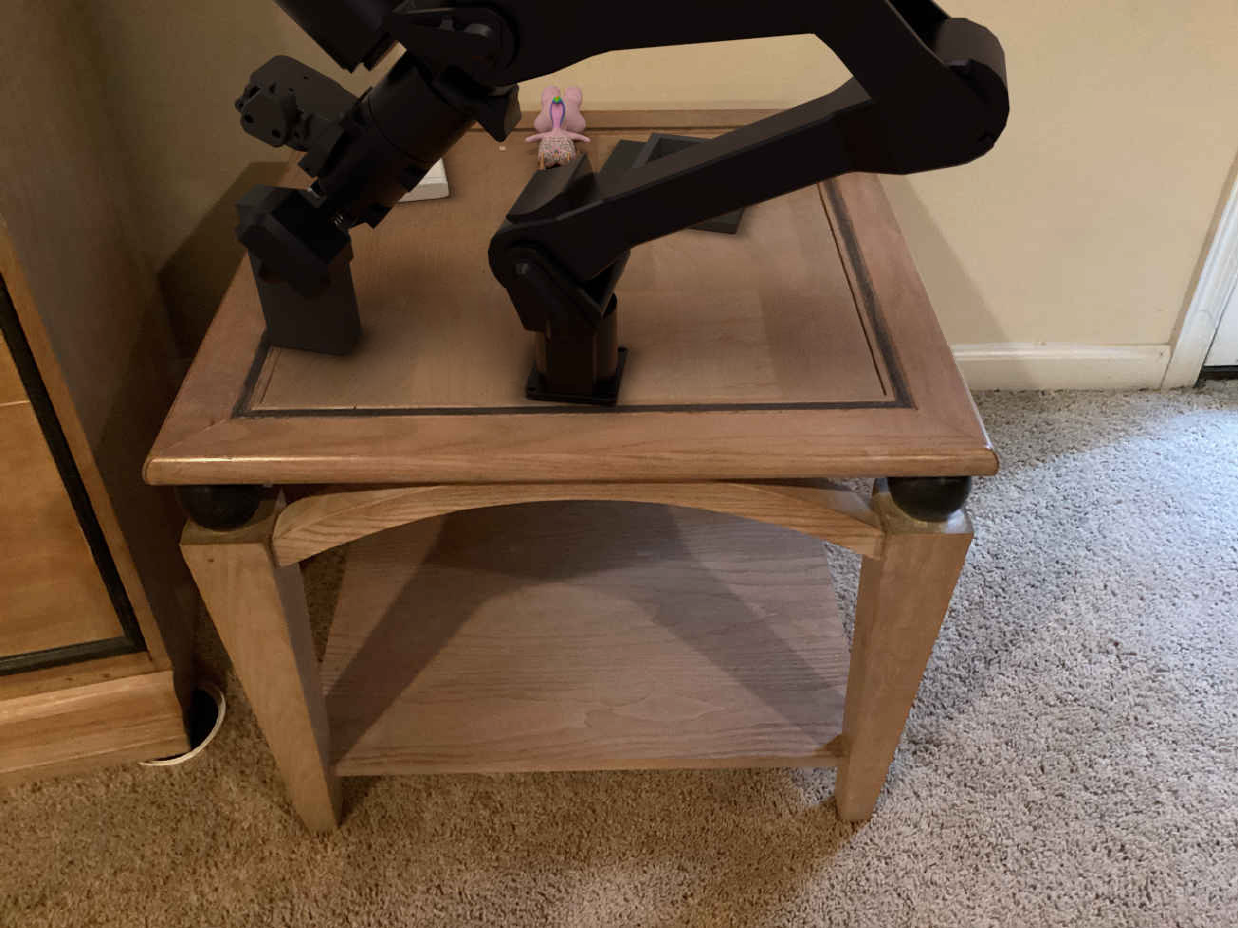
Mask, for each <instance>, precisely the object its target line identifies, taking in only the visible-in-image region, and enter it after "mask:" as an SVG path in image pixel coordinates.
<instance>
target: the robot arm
mask: <svg viewBox="0 0 1238 928" xmlns="http://www.w3.org/2000/svg"><path fill="white" fill-rule="evenodd" d="M272 1H273V2H274V3H275V4H276V5H277V6H278V8H280V9H281V11H283V12H284V13H285V14H286V15H287V16H288V17H289V18H290V19H291V20H292V21H293V22H294V23H295V24H296V25H298V27H299V28H300V29H301V30H302V31H303V32H304V33H305V34H306V35H307V36H308V37H310V39H311V40H313V42H314V43H316V45H317V46H319V48H321V49H322V51H324V52H325V54H326V55H327V56H329V58H330V59H332V61H334V62H335V63H336V65H338V67H339V68H341V69H342V71H347V72H348V73H349V74H350V75H352V74H353V73H354V72H355V71H356V70H358V69H359V67H360V66H361V65H362V66H363V67H364V68H365V70H367V71H368V72H369V73H370V72H372V71H373V70H375V68H376V67H377V66H378V65H379V64H380V63H382V61H383V60H384V59H385V58H386V57H387V56H388V55H389V54H390V53H391V52H392V51H393V50H394V48H395V47H397V45H398V44H400V45H401V46H402V47H403V48H404V52H403V53H402V54H401V56H399V58H398V59H397V60H395V62H394V64H393V65H391V67H390V68H389V69H388V70H387V71H386V73H385V74H384V75H383V76H382V77H381V79H379V81H378V82H377V83H376V84H375V85H374V86H372V85H370V86H369V87H368V88H367V89H366V90H365V91H364V92H363V93H362V94H361V95H360V96H359V97H358V96H357V95H355V94H353V92H350V91H349V90H347V89H346V88H344V87H343V85H341V84H340V83H339V82H338V81H336V80H335V79H333V78H331V77H329V76H328V75H326V74H324V73H322V72H320V71H318V70H317V69H315V68H313V67H311V66H309V65H307V64H305V63H303V62H302V61H300V60H298V59H296V58H294V57H293V56H289V55H284V54H277V55H275V56H273V57H271V58H270V59H269V60H267V61H266V62H265V63H263V64H262V65H260V67H258V68H257V69H255V70H254V71H253V72H251V74H250V75H249V79H248V84H246V85H245V86H244V89H243V93H242V94H241V95H240V96H239V97H238V98H237V99H235V101H234V107H235V109H236V111H237V112H238V113H240V118H239V124H240V126H241V128H242V129H243V131H244V133H246V134H248V135H250V136H251V137H254V138H255V139H257V140H259V141H261V142H262V143H265V144H267V145H269V146H270V147H272V148H275V149H277V148H282V147H283V146H287V147H288V148H290V149H292V150H293V151H297V152H301V153H305V154H304V155H303V156H302V158H301V159H300V160H299V161H298V162H297V163H296V165H297V166H298V167H299V168H300V169H301V170H302V171H303V172H304V173H305V174H306V175H307V176H309V177H310V178H311V179H315V178H316V179H315V180H314V181H313V182H312V183H311V184H310V185H309V186H308V187H307V189H306V190H308V192H309V193H310V194H311V195H312V196H313V197H314V198H315V199H317V200H318V201H319V200H320V199H321V198H322V197H323V196H324V195H326V196H327V197H328V198H327V199H326V200H325V201H324V202H323V203H322V204H321V205H320V206H319V207H318V208H316V207H315V206H314V205H312V204H311V203H310V202H309V201H308V200H307V199H306V198H305V197H304V196H303V195H302V194H300V193H299V192H298V191H297V190H296V189H293V188H294V187H288V188H284V187H285V186H279V187H275V188H274V189H273V190H272V191H271V192H270V193H269V194H268V195H267V196H265V197H264V198H263V199H262V200H261V201H260V202H259V203H258V204H257V205H256V206H255V207H254V208H253V209H252V210H251V211H250V212H249V213H248V214H247V215H246V216H245V218H244V219H243V220H242V221H241V222H240V221H239V223H238V225H237V226H236V227H235V228H234V232H235V235H236V239H237V241H238V242H239V243H240V244H242V245H243V246H244V248H246V250H247V249H248V250H250V251H251V252H252V253H253V254H254V255H255V256H256V257H257V258H259V259H260V260H261V261H262V262H261V265H260V267H259V270H258V273H257V275H258V276H259V277H260V278H261V279H262V280H263V281H264V282H265V283H267V284H268V285H273V284H278V283H283V282H286V283H287V284H288V285H289V286H290V287H292V288H293V289H294V290H295V291H296V292H297V293H298V294H300V295H301V296H302V297H303V298H304V299H309V300H317V299H318V298H319V297H320V296H321V295H322V294H323V293H324V292H325V291H326V290H327V289H328V288H329V287H330V286H331V285H332V283H333V282H334V281H335V280H336V279H337V277H338V276H339V275H340V274H341V273H342V271H343V270H344V269H345V268H346V267H347V266H348V264H350V263H351V262H352V261H353V260H354V258H355V256H354V252H353V251H354V250H353V245H352V243H353V238H352V236H351V234H350V232H349V230H351V229H353V228H356V227H358V226H360V225H362V224H365V223H366V224H367V225H368V226H369V227H370V228H371V229H372V230H375V228H377V226H379V224H380V223H381V222H382V221H384V219H385V218H386V217H387V215H389V214H390V212H391V211H392V210H393V208H394V207H395V206H396V205H397V204H398V203H399V202H398V201H399V200H400V199H401V198H402V197H403V196H404V195H405V194H406V193H407V192H409V193H410V192H411V191H412V190H413V189H414V188H415V187H416V186H417V185H418V184H419V183H420V181H421V180H422V179H423V178H424V177H425V175H426V174H427V173H428V172H429V171H430V169H431V168H432V167H433V166H434V165H435V164H436V163H437V162H438V161H439V160H440V159H441V158H442V159H443V157H444V156H445V155H446V154H447V153H448V152H449V151H450V150H451V149H452V148H453V147H454V146H455V145H456V144H457V143H458V142H459V141H460V140H461V139H462V138H463V137H464V136H465V134H466V133H468V132H469V130H471V128H472V127H474V126H475V125H476V123H477V124H479V125H480V126H481V128H483V130H485V132H487V133H488V134H489V135H490V137H491V138H492V139H494V141H496V143H504V142H505V141H506V140H507V139H508V137H509V136H510V135H511V133H512V132H513V130H515V128H516V127H517V125H518V124H519V122H520V121H521V120H522V117H523V115H522V110H521V105H520V100H519V93H520V85H519V84H521V83H524V82H527V81H528V82H529V81H531V80H535V79H538V78H542V77H545V76H549V75H553V74H555V73H557V72H559V71H562V70H565V69H567V68H569V67H571V66H574V65H576V64H578V63H581V62H582V61H585V60H587V59H590V58H592V57H595V56H596V57H597V56H599V55H603V54H606V53H609V52H617V51H628V50H639V49H640V50H641V49H651V48H663V47H673V46H674V47H675V46H685V45H687V46H688V45H694V44H695V45H698V44H709V43H710V44H711V43H719V42H721V43H722V42H731V41H732V42H733V41H743V40H753V39H765V38H777V37H779V38H780V37H790V36H800V35H815V36H816V37H817V38H818V39H819V40H820V41H821V42H822V43H824V45H826V46H827V47H828V48H829V49H830V50H831V51H832V52H833V53H834V55H836V57H837V58H838V60H840V62H841V63H842V64H843V65H844V66H845V68H846V70H848V72H849V73H850V74H851V77H850V78H849V79H847V80H846V81H845V82H844V83H842V84H841V85H840V86H839V87H837V88H835V89H834V90H832V91H831V92H829V93H827V94H824V95H822V96H819V97H816V98H814V99H811V100H808V101H806V102H804V103H801V104H798V105H796V106H795V105H794V106H793V107H790V108H788V109H786V110H783V111H779V112H777V113H775V114H772V115H770V116H767V117H764V118H762V119H760V120H757V121H754V122H751V123H749V124H746V125H743V126H741V127H737V128H736V129H733V130H731V131H728V132H725V133H723V134H720V135H718V136H714V137H712V138H709V139H710V140H707V141H704V142H702V143H699V144H697V145H694V146H691V147H689V148H686V149H684V150H681V151H678V152H676V153H673V154H671V155H668V156H665V157H663V158H660V159H658V160H655V161H652V162H650V163H647V164H645V165H642V166H639V167H637V168H634V169H632V170H629V171H626V172H623V173H618V174H611V173H600V171H594V170H593V167H592V163H591V160H590V158H589V155H588V153H586V152H584V153H581V154H579V155H576V157H575V158H574V159H572V160H571V161H569V162H567V163H566V164H564V165H562V166H561V165H560V166H557V167H554V168H550V169H548V168H545V169H540V168H538V169H536V170H535V172H534V173H533V174H532V176H531V177H530V179H529V180H528V182H527V183H526V184H525V186H524V188H523V189H522V191H521V193H519V196H518V197H517V199H516V200H515V201H514V203H513V204H512V206H511V207H510V209H509V210H508V212H507V213H506V214H505V218H504V219H503V220H502V222H501V223H500V225H499V226H498V228H497V229H496V231H495V232H494V233H493V235H492V237H491V238H490V241H489V245H488V248H487V259H488V266H489V268H490V271H491V273H492V275H493V277H494V278H495V279H496V281H497V282H498V283H499V285H500V286H501V287H502V288H504V289H505V291H506V293H507V295H508V297H509V300H510V302H511V304H512V306H513V308H514V310H515V312H516V314H517V317H518V319H519V321H520V323H521V325H522V327H523V329H524V330H525V331H528V332H534V339H535V353H536V354H535V357H534V361H533V364H532V365H531V369H530V372H529V375H528V378H527V381H526V384H525V387H524V395H525V397H526V398H528V399H535V400H549V401H560V402H571V403H572V402H573V403H584V404H585V403H586V404H597V405H598V404H599V405H609V406H611V405H616V404H617V403H618V402H619V397H620V393H621V388H622V383H623V379H624V375H625V370H626V365H627V361H628V356H629V348H628V347H626V346H622V345H618V343H619V341H618V340H619V339H618V338H619V337H618V336H619V335H618V333H619V332H618V327H619V326H618V325H619V324H618V319H619V318H618V297H617V294H616V293H615V290H616V287H617V284H618V283H619V281H620V278H621V277H622V275H623V273H624V271H625V269H626V266H627V265H628V261H629V259H630V257H631V255H632V251H631V250H633V249H634V248H636V247H638V246H641V245H644V244H647V243H649V242H650V243H651V242H652V241H655V240H658V239H661V238H664V237H668V236H670V235H674V234H676V233H678V232H681V231H684V230H687V229H691V228H690V227H693V226H696V225H699V224H702V223H705V222H708V221H711V220H713V219H716V218H719V217H722V216H725V215H728V214H731V213H734V212H736V211H739V210H742V209H744V210H745V209H747V208H751V207H754V206H757V205H759V204H763V203H765V202H768V201H771V200H774V199H776V198H779V197H782V196H786V195H788V194H792V193H794V192H798V191H799V190H800V191H801V190H802V189H806V188H808V187H811V186H814V185H817V184H820V183H823V182H826V181H829V180H831V179H835V178H838V177H840V176H844V175H847V174H853V173H863V174H877V175H889V176H908V175H914V174H921V173H926V172H932V171H938V170H945V169H949V168H950V169H951V168H955V167H959V166H964V165H968V164H970V163H972V162H974V161H976V160H978V159H980V158H982V157H984V156H985V155H986V154H987V153H989V152H990V151H992V149H994V148H995V144H996V143H997V141H998V140H999V139H1000V137H1001V136H1002V133H1003V132H1004V130H1005V129H1006V127H1007V125H1008V124H1007V123H1008V119H1009V115H1010V111H1011V107H1010V106H1011V105H1010V96H1009V94H1010V93H1009V84H1008V76H1007V74H1008V73H1007V65H1006V55H1005V50H1004V48H1003V46H1002V44H1001V42H1000V40H999V38H998V37H997V36H996V34H994V33H993V31H991V30H990V29H989V28H988V27H986V26H984V25H982V24H981V23H978V22H975V21H973V20H971V19H969V18H968V17H952V16H951V15H950V14H949V13H947V11H945V10H944V9H943V8H942V7H941V6H940V5H939V4H938V3H937V2H935V0H272ZM338 210H339V211H340V215H339V216H338V217H337V219H336V220H335V221H334V222H333V223H332V222H331V221H330V219H331V218H332V217H333V216H334V215H335V214H336V213H337V212H338Z"/></svg>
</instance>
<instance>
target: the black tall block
mask: <svg viewBox="0 0 1238 928" xmlns="http://www.w3.org/2000/svg"><path fill="white" fill-rule="evenodd" d="M275 187H280V186H278V185H270V184H260V183H256V184H254V186H253V187H251V188H250V189H249V190H248V191H247V192H246V193H245V194H243V195H242V196H241V197H240V198H239V199H238V200H237V201H236V202H235V203H234V204H235V209H236V212H237V216H238V220H239V223H240V222H241V221H242V220H243V219H244V218H245V216H246V215H247V214H248V213H249V212H250V211H251V210H252V209H253V208H254V207H255V206H256V205H257V204H258V203H259V202H260V201H261V200H262V199H263V198H264V197H265V196H267V195H268V194H269V193H270V192H271V191H272V190H273V189H274V188H275ZM283 187H284V188H289V187H287V186H283ZM292 188H293V189H296V190H297V191H298V192H299V193H300V194H302V195H303V196H304V197H305V198H306V199H307V200H308V201H309V202H310V203H311V204H312V205H314V206H315V207H316V208H318V207H319V206H320V205H321V204H322V203H323V202H324V201H325V200H326V199H327V198H328V197H327V196H326V195H324V196H323V197H322V198H321V199H320V200H319V201H318V200H317V199H315V198H314V197H313V196H312V195H311V194H310V193H309V192H308V190H307V189H306V188H305V189H304V188H297V187H296V188H295V187H292ZM339 215H340V211H339V210H338V212H337V213H336V214H335V215H334V216H333V217H332V218H331V219H330V221H331V222H332V223H333V222H334V221H335V220H336V219H337V217H338V216H339ZM246 252H247V256H248V259H249V263H250V267H251V271H252V275H253V278H254V279H253V280H254V283H255V286H256V290H257V295H258V298H259V302H260V305H261V309H262V313H263V318H264V322H265V325H266V329H267V333H268V336H269V341H270V344H271V346H275V347H281V348H288V349H294V350H295V349H296V350H304V351H311V352H317V353H323V354H324V353H325V354H331V355H338V356H344V357H345V356H346V357H347V356H348V354H349V353H350V351H352V349H353V347H354V346H355V345H356V343H357V342H358V341H359V339H360V338H361V337H362V336H363V327H362V322H361V318H360V311H359V306H358V302H357V295H356V292H355V291H356V290H355V286H354V280H353V276H352V270H351V265H350V263H349V264H348V266H347V267H346V268H345V269H344V270H343V271H342V273H341V274H340V275H339V276H338V277H337V279H336V280H335V281H334V282H333V283H332V285H331V286H330V287H329V288H328V289H327V290H326V291H325V292H324V293H323V294H322V295H321V296H320V297H319V298H318V299H317V300H309V299H304V298H303V297H302V296H301V295H300V294H298V293H297V292H296V291H295V290H294V289H293V288H292V287H290V286H289V285H288V284H287V283H286V282H283V283H278V284H273V285H268V284H267V283H265V282H264V281H263V280H262V279H261V278H260V277H259V276H258V275H257V273H258V270H259V267H260V265H261V262H262V261H261V260H260V259H259V258H257V257H256V256H255V255H254V254H253V253H252V252H251V251H250V250H248V249H247V248H246Z"/></svg>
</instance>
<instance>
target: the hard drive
mask: <svg viewBox="0 0 1238 928" xmlns="http://www.w3.org/2000/svg"><path fill="white" fill-rule="evenodd" d="M449 195H450V192H449V183H448V179H447V175H446V171H445V165H444V162H443V157H442V158H441V159H440V160H439V161H438V162H437V163H436V164H435V165H434V166H433V167H432V168H431V169H430V171H429V172H428V173H427V174H426V175H425V177H424V178H423V179H422V180H421V181H420V183H419V184H418V185H417V186H416V187H415V188H414V189H413V190H412V191H411V192H410V193H409V192H407V193H406V194H405V195H404V196H403V197H402V198H401V199H400V200H399V201H398V202H397V203H403V202H413V201H414V202H415V201H423V200H424V201H425V200H435V199H443V198H446V197H448V196H449Z"/></svg>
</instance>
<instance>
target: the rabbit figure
mask: <svg viewBox="0 0 1238 928" xmlns="http://www.w3.org/2000/svg"><path fill="white" fill-rule="evenodd" d="M583 100H584V99H583V92H582V89H581V88H580V87H579V86H577V85H571V86H569V87H566V89H565V90H564V93H563V96H561V90H560V88H559V86H556V85H548V86H545V87H544V88H543V89H542V92H541V95H540V104H541V110H540V113H539V114H538V115H537V116H536V118H535V120H534V121H533V127H534V129H535V130H536V131H537V134H536V133H535V134H533V135H531V136H527V137H526V138H525V141H524V142H525V143H527V144H531V143H532V142H534V141H540V142H539V146H538V150H537V151H538V152H537V160H538V163H539V164H540V165H539V169H548V168H551V167H553V166H554V165H560V166H562V165H564V164H566V163H567V162H569V161H571V160H572V159H574V158H575V157H577V154H576V147H575V145H574V141H581V142H583V143H585V144H590V143H591V138H590V137H588V136H585V135H583V134H582V133H583V132H584V131H585V129H586V128H587V122H586V120H585V118H584V117H583V115H582V113H581V111H580V108H581V106H582V104H583Z"/></svg>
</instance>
